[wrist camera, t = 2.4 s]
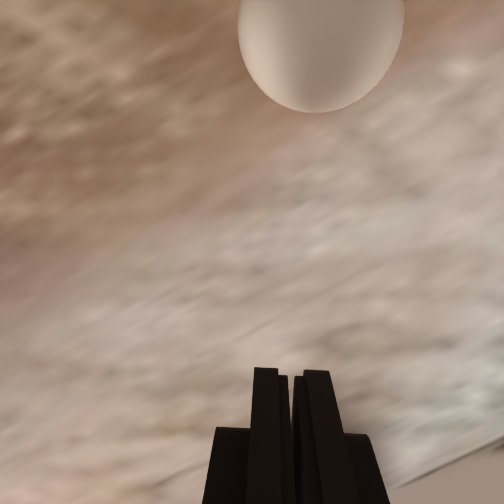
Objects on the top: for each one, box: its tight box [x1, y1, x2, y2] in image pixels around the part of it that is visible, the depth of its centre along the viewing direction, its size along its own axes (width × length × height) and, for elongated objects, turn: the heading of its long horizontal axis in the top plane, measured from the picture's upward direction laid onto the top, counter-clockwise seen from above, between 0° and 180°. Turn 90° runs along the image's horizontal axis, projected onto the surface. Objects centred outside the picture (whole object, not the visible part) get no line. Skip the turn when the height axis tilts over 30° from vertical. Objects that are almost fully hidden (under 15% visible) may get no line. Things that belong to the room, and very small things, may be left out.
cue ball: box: [238, 0, 405, 113], centre depth 14 cm, size 6×6×6 cm
